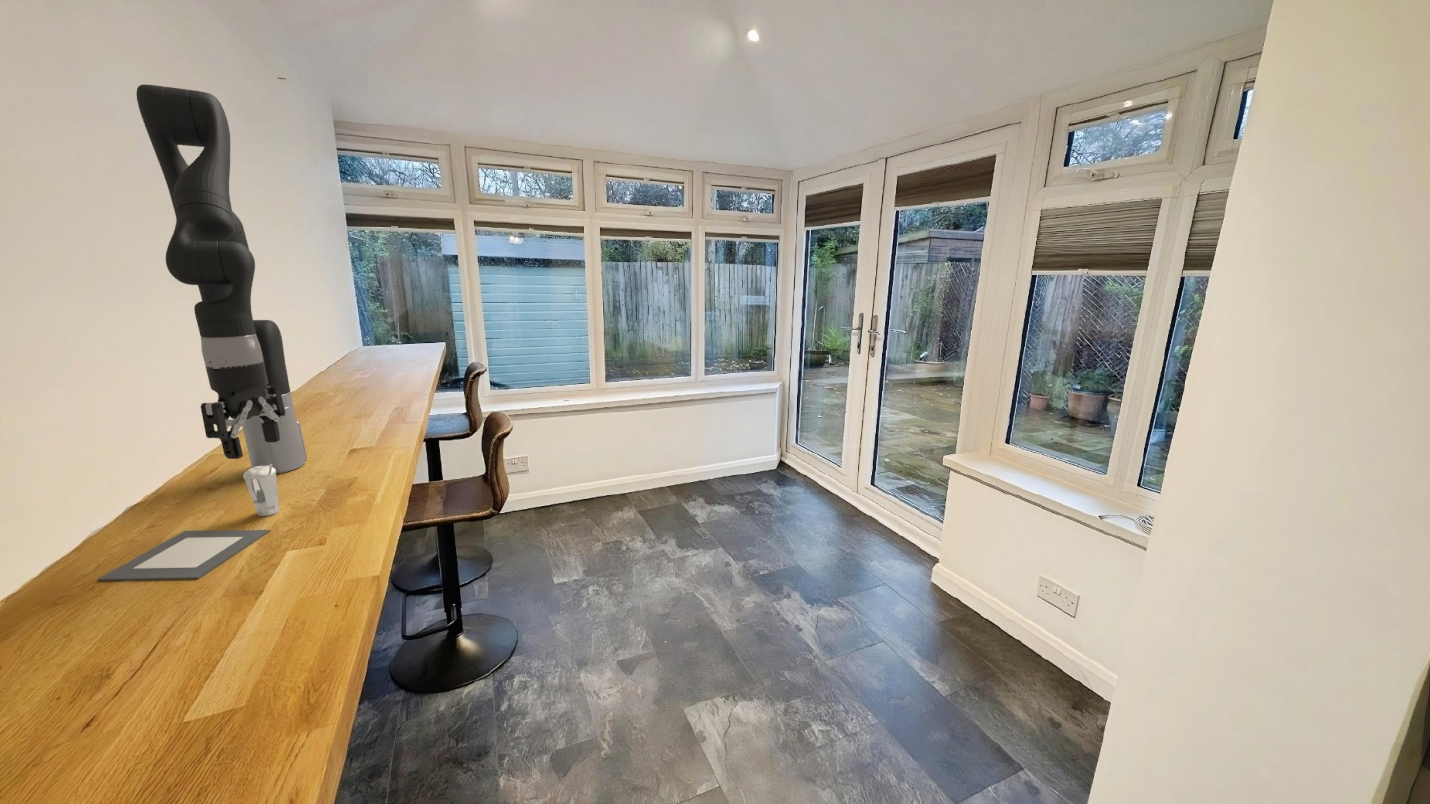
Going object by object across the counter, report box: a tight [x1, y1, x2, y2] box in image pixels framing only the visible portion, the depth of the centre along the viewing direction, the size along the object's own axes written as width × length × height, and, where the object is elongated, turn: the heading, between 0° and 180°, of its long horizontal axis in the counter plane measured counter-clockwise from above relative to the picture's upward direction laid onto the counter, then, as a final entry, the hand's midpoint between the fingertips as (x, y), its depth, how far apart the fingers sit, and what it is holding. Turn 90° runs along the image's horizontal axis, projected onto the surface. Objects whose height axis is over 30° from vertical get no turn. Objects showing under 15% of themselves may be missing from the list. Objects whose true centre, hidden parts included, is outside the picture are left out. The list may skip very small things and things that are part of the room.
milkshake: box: [242, 465, 281, 517], centre depth 96 cm, size 5×5×10 cm
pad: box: [97, 529, 271, 582], centre depth 83 cm, size 14×14×1 cm
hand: (254, 449), depth 93 cm, fingers open, 8 cm apart
